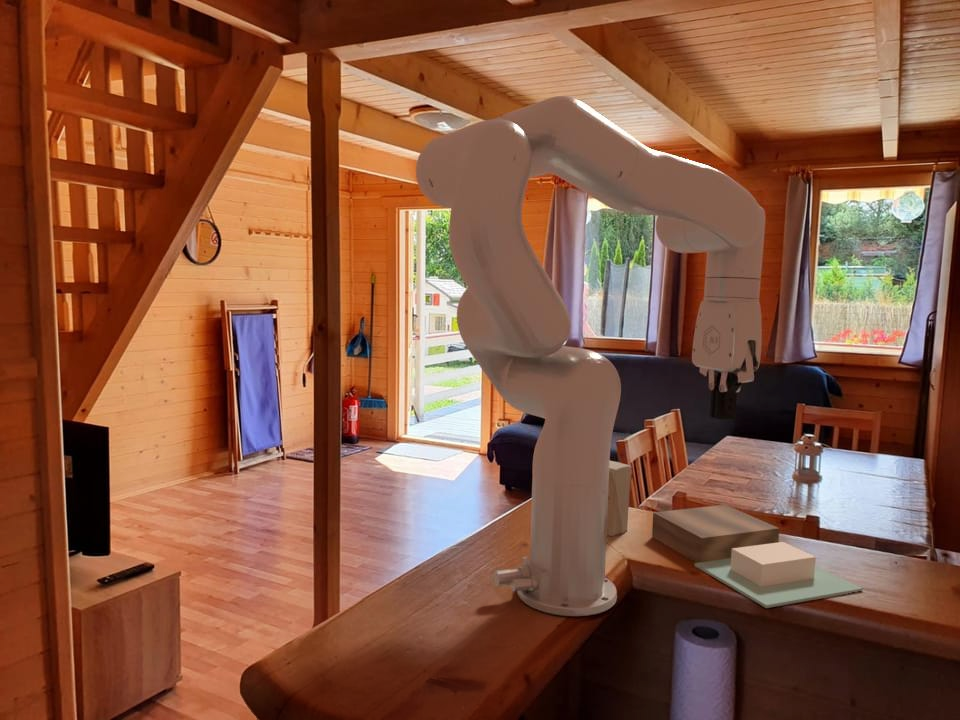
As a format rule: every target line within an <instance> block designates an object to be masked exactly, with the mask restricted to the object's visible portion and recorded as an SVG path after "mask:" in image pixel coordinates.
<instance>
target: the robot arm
mask: <svg viewBox="0 0 960 720" xmlns="http://www.w3.org/2000/svg"><path fill="white" fill-rule="evenodd" d="M417 158H418V159H417V160H416V166H415V178H416V181H417V185H418V188H419V189H420V192H422V194H423V195H424V196H425V198H427V200H429V201H430V202H432V204H435V205H436V206H439V207H441V208H446V209H450V215H449V226H448V227H449V229H448V230H449V231H448V240H449V242H448V243H449V247H450V248H449V249H450V254H451V257H452V259H453V262H454V265H455V266H456V269H457V270H458V273H459V275H460V276H461V278H462V279H463V281H464V283H465V285H466V287H467V288H466V289H465V290H464V292H463V294H462V295H461V296H460V299H459V301H458V304H457V309H456V322H457V328H458V329H457V330H458V332H459V335H460V337H461V339H462V341H463V343H464V345H465V346H466V348H467V350H468V351H469V353H470V354H471V355H472V357H473V358H474V360H475V361H476V363H477V364H478V365H479V367H480V369H481V370H482V371H483V373H484V375H485V376H486V377H487V379H488V380H489V381H490V383H491V385H492V386H493V387H494V389H495V390H496V391H497V393H498V394H499V396H500V397H501V398H502V399H503V400H504V401H505V402H506V403H507V404H508V405H509V406H510V407H512V409H515V410H517V411H519V412H521V413H525V414H528V415H531V416H535V417H538V418H542V419H545V420H544V423H543V427H542V429H541V432H540V434H539V436H538V438H537V441H536V444H535V446H534V449H533V450H534V452H533V457H532V469H531V470H532V473H531V474H532V482H531V483H532V484H531V514H530V516H531V517H530V519H531V520H530V549H529V550H530V552H529V553H530V555H529V556H523V557H522V564H519V565H517V566H516V567H515V568H511V569H510V568H506V569H505V568H504V569H499V570H498V569H497V570H494V571H493V582H494V583H493V584H494V585H495V586H496V587H504V586H510V587H511V590H512V592H516V593H517V596H518V597H519V599H520V600H521V601H523V602H524V604H526V605H527V606H529V607H531V608H533V609H535V610H538V611H541V612H543V613H546V614H551V615H556V616H562V617H563V616H564V617H588V616H593V615H597V614H601V613H603V612H604V613H605V612H606V611H608V610H610V609H611V608H612V607H613V606H614V605H615V604H616V602H617V599H618V590H617V588H616V585H615V584H614V583H613V582H612V581H611V580H610V579H608V578H607V577H606V561H607V560H606V558H607V555H606V554H607V536H608V535H607V512H608V486H609V462H610V461H611V460H610V459H611V458H610V457H611V448H612V447H611V446H612V437H613V432H614V431H613V430H614V426H615V422H616V419H617V414H618V411H619V405H620V402H621V396H622V395H621V394H622V393H621V392H622V384H621V378H620V376H619V372H618V370H617V369H616V367H615V365H614V364H613V363H612V362H611V361H610V360H609V359H608V358H606V356H604V355H602V354H600V353H598V352H596V351H593V350H590V349H586V348H581V347H574V346H565V345H566V343H567V342H568V340H569V338H570V334H571V329H572V328H571V327H572V324H571V317H570V313H569V311H568V308H567V306H566V304H565V302H564V300H563V298H562V296H561V295H560V293H559V292H558V290H557V288H556V287H555V285H554V283H553V281H552V280H551V278H550V277H549V275H548V273H547V272H546V270H545V267H543V264H542V263H541V262H540V260H539V258H538V257H537V256H536V254H535V252H534V250H533V248H532V246H531V244H530V241H529V240H528V237H527V235H526V232H525V230H524V229H525V228H524V226H523V225H524V223H523V204H524V198H525V193H526V190H527V186H528V183H529V180H530V179H531V178H536V177H541V176H546V175H553V176H557V177H558V178H559V179H562V180H563V181H565V182H567V183H568V184H570V185H572V186H574V187H575V188H577V189H578V190H581V191H582V192H584V193H586V195H589V196H590V197H592V198H593V199H595V200H597V201H598V202H600V203H602V204H603V205H605V206H606V207H608V208H609V209H612V210H615V211H619V212H624V213H629V214H634V215H642V216H656V217H657V218H656V221H655V232H656V236H657V238H658V239H659V242H660V243H661V244H662V245H663V246H664V247H666V248H667V249H668V250H670V251H672V252H675V253H679V254H680V253H681V254H697V253H701V254H702V253H705V254H706V260H705V261H706V263H705V276H704V277H705V279H704V290H703V291H704V293H703V300H701V301H700V305H699V308H698V312H697V315H696V319H695V327H694V334H693V341H692V351H691V363H692V364H693V365H694V366H695V367H697V368H699V373H700V374H702V375H703V376H704V377H706V378H707V380H708V388H709V390H710V391H711V394H710V406H709V417H710V418H712V419H716V420H734V419H736V418H735V417H736V411H737V409H736V408H737V397H738V396H737V394H738V393H740V391H741V387H742V385H744V383H745V384H747V383H751V382H754V380H755V374H754V372H756V371H757V370H758V369H759V367H760V363H761V355H762V343H763V340H762V336H763V334H762V333H763V328H762V325H763V324H762V322H763V321H762V311H761V309H762V308H761V302H760V293H761V292H760V291H761V278H762V269H763V255H764V244H765V242H764V241H765V230H766V229H765V228H766V211H765V209H764V207H762V206H761V205H760V204H759V203H758V202H757V199H756V198H755V197H754V196H753V195H752V194H751V193H750V191H749V190H748V189H746V188H745V187H744V186H743V185H741V184H740V183H739V182H737V181H736V180H734V179H733V178H731V177H730V176H729V175H728V174H726V173H724V172H722V171H720V170H719V169H717V168H713V167H711V166H709V165H706V164H703V163H699V162H696V161H693V160H689V159H687V158H686V159H685V158H683V157H679V156H677V155H673V154H670V153H667V152H663V151H660V150H659V151H658V150H655V149H651V148H649V147H648V146H646V145H644V144H643V143H641V142H640V141H638V140H637V139H636V138H634V137H633V136H632V135H631V134H629V133H627V132H626V131H624V130H623V129H621V128H620V127H619V126H617V125H616V124H614V123H613V122H611V121H610V120H609V119H607V118H606V117H605V116H602V115H601V114H600V113H598V112H597V111H595V110H594V109H593V108H592V107H590V105H587V104H586V103H584V102H582V101H581V100H580V99H577V98H575V97H572V96H567V95H558V96H553V97H549V98H545V99H543V100H541V101H538V102H534V103H532V104H529V105H526V106H524V107H521V108H518V109H515V110H513V111H510V112H508V113H505V114H503V115H501V116H497V117H495V118H493V119H486V120H481V121H478V122H474V123H472V124H470V125H467V126H464V127H462V128H459V129H457V130H455V131H452V132H449V133H446V134H443V135H441V136H437V137H436V138H434V139H432V140H430V141H429V142H427V144H425V146H424V147H423V149H422V150H421V151H420V153H419V155H418V157H417Z"/></svg>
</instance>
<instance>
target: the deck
mask: <svg viewBox="0 0 960 720" xmlns="http://www.w3.org/2000/svg"><path fill="white" fill-rule="evenodd" d="M779 537H780V528H779V527H778V526H776V525H772V524H770V523H769V522H766V521H764V520H762V519H759V518H757V517H754V516H753V515H750V514H748V513H745V512H743V511H740V510H738V509H736V508H733V507H731V506H730V505H726V504H719V505H709V506H701V507H692V508H691V507H690V508H684V509H683V508H681V509H675V510H674V509H673V510H665V511H655V512H653V513H652V531H651V538H653V539H655V540H656V541H658V542H660V543H661V544H662V545H665V546H667V547H668V548H670V549H672V550H674V551H676V552H677V553H679V554H680V555H682V556H685V558H687V559H689V560H691V561H693V562H694V563H700V562H707V561H714V560H722V559H729V558H731V551H732V548H740V547H747V546H755V545H762V544H770V543H778V542H779V540H780V538H779Z"/></svg>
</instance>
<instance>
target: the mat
mask: <svg viewBox="0 0 960 720" xmlns="http://www.w3.org/2000/svg"><path fill="white" fill-rule="evenodd" d="M694 567H696V568H697V569H699V570H700V571H703V572H704V573H706V574H707V575H709V576H711V577H713V578H714V579H716V580H717V581H719V582H721V583H723V584H725V585H726V586H728V587H730V588H731V589H733V590H734V591H736V592H738V593H740V594H741V595H743V596H745V597H746V598H748V599H750V600H751V601H753V602H755V603H757V604H759V605H760V606H762V607H763V608H765V609H770V608H775V607H781V606H786V605H792V604H797V603H799V604H800V603H803V602H810V601H814V600H815V601H817V600H820V599H821V600H822V599H826V598H832V597H833V598H834V597H837V596H838V597H839V596H843V594H844V595H849V594H848V593H850V594H853V593H852V592H855V593H859V592H858V591H861V592H863V591H864V590H863V589H864V588H863V587H861V586H859V585H857V584H855V583H852V582H851V581H849V580H846V579H843V578H841V577H840V576H839V575H838V576H837V575H836V574H833V573H831V572H829V571H827V570H825V569H822V568H820V567H819V566H817V565H815V574H814V578H813V579H806V580H800V581H794V582H787V583H781V584H775V585H768V586H762V587H761V586H759V585H757V584H756V583H754V582H752V581H750V580H749V579H747V578H745V577H743V576H741V575H740V574H738V573H736V572H734V571H732V570H731V569H730V568H731V558H729V559H722V560H714V561H707V562H700V563H696V562H694Z"/></svg>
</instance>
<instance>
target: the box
mask: <svg viewBox="0 0 960 720" xmlns="http://www.w3.org/2000/svg"><path fill="white" fill-rule="evenodd" d="M631 473H632V466H631V465H630V464H625V463H622V462H619V461H613V460H610V462H609V486H608V512H607V536H609V537H615V536H617V535H620V534H623V533H625V532H628V522H629V521H628V520H629V507H630V492H631V491H630V489H631V476H632V474H631Z"/></svg>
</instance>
